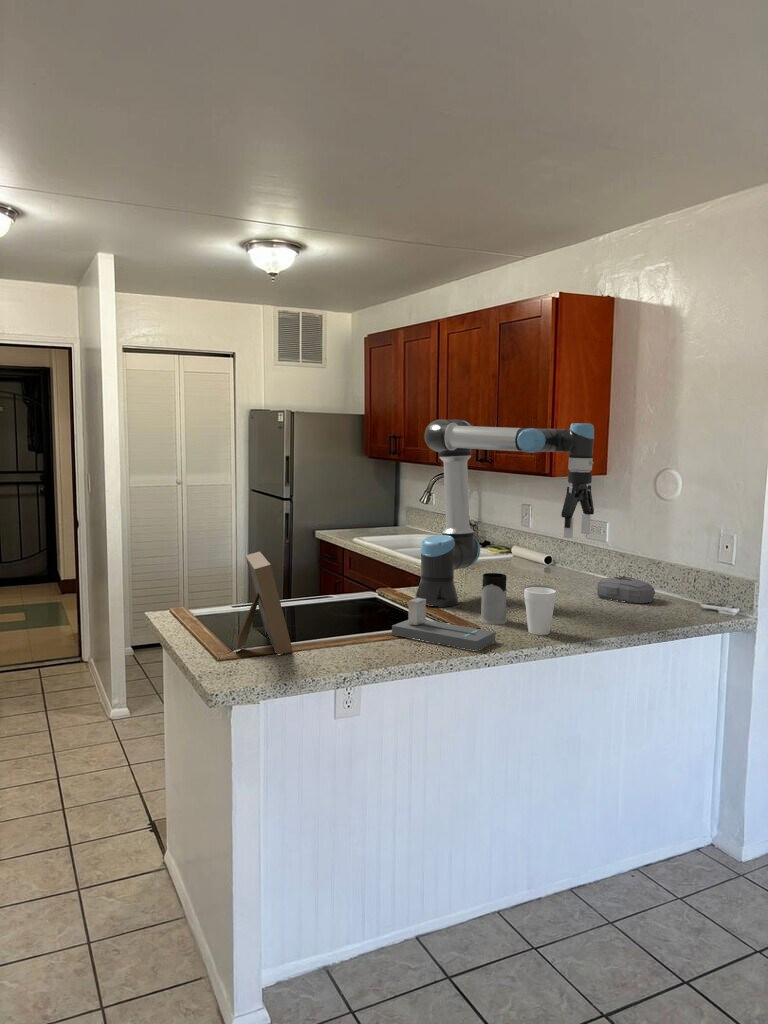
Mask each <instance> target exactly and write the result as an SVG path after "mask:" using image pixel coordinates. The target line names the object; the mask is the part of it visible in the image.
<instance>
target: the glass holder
mask: <svg viewBox="0 0 768 1024" xmlns="http://www.w3.org/2000/svg"><path fill="white" fill-rule="evenodd" d="M507 592H508V591H507V574H504V573H497V572H488V573H487V572H486V573H483V574H482V587H481V602H480V603H481V608H480V611H481V614H480V617H479V618H480V619H479V622H480V621H481V622H480V623H482V622H484V623H483V624H486V623H489V624H488V625H503V624H507V623H508V620H507ZM506 622H507V623H506Z"/></svg>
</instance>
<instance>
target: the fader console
mask: <svg viewBox="0 0 768 1024" xmlns="http://www.w3.org/2000/svg"><path fill="white" fill-rule="evenodd" d="M496 632H497V631H491V630H487V629H480V628H475V627H469V626H463V625H462V626H461V625H457V624H451V623H446V622H440V621H435V620H428V619H426V622H424V623H421V624H419V625H413V624H408V619H406V620H404V621H401V622H398V623H396V624H393V625H391V635H392V634H393V635H397V636H403V637H410V638H415V639H420V640H424V641H429V642H434V643H440V644H444V645H450V646H455V647H459V648H458V649H460V648H465V649H471V650H479V649H481V648H483V647H485V646H487V645H489V646H491V645H492V643H493V642H494V643H496ZM397 636H396V637H397ZM434 643H433V644H434ZM494 643H493V644H494ZM490 644H491V645H490ZM444 645H443V646H444ZM455 647H454V648H455ZM487 647H488V646H487ZM485 648H486V647H485ZM465 649H464V650H465ZM483 649H484V648H483ZM481 650H482V649H481ZM479 651H480V650H479Z"/></svg>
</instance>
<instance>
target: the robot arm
mask: <svg viewBox="0 0 768 1024" xmlns="http://www.w3.org/2000/svg"><path fill="white" fill-rule="evenodd" d="M594 441H595V427H594V425H593V423H581V422H579V423H573V422H572V423H571V424H570V427H569V428H567V429H566V428H565V429H564V428H533V427H528V428H526V427H523V428H522V427H505V426H504V427H503V426H502V427H501V426H500V427H499V426H497V427H496V426H474V425H471V423H470V422H468V421H466V420H461V419H444V418H443V419H442V418H441V419H435V420H434V421H431V422H430V423H429V424H428V425H427V426H426V428H425V431H424V442H425V444H426V445H427V447H428V448H429V449H430V450H432V451H434V452H437V453H438V458H439V459H440V460H441V461H442V462H443V478H444V479H443V480H444V481H443V482H444V504H445V505H444V506H445V507H444V508H445V509H444V513H445V529H443V530H442V532H441V533H442V534H437V535H430V536H426V537H425V538H424V539H422V541H421V547H420V582H419V584H418V588H417V591H416V593H415V595H414V596H415V598H422V599H426V604H429V605H433V606H438V607H437V608H449V607H454V606H457V605H458V604H459V596H458V595H459V594H458V592H457V589H456V585H455V582H454V579H455V575H454V573H455V570H460V569H466V568H469V567H470V566H472V565H474V564H475V563H476V562H477V561H478V560H479V558H480V554H481V545H480V542H479V541H478V539H477V537H475V530H473V529H472V527H470V508H469V507H470V505H469V504H470V501H469V498H470V497H469V475H468V474H469V473H468V471H469V470H468V461H469V459H471V457H472V449H473V450H487V451H489V450H491V451H507V452H523V453H524V452H525V453H529V454H530V453H531V454H535V453H550V452H552V453H568V466H567V468H568V470H569V471H568V472H567V482H568V484H572V485H571V486H567V487H566V494H565V498H564V502H563V505H562V510H561V518H564V523H563V524H564V526H563V539H574V537H573V535H574V517H573V516H574V513H575V511H576V508H577V506H578V503H580V504H579V505H580V507H581V509H582V513H581V526H580V527H581V531H580V534H582V535H583V534H584V535H590V534H591V519H592V518H591V515H594V513H595V506H594V502H593V495H592V485H590V484H591V483H592V481H593V479H592V478H593V477H592V476H593V472H591V471H593V465H594V461H593V459H594V458H593V457H594V456H593V455H594V443H595V442H594ZM415 598H414V599H415ZM448 606H449V607H448Z"/></svg>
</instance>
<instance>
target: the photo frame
mask: <svg viewBox="0 0 768 1024" xmlns="http://www.w3.org/2000/svg"><path fill="white" fill-rule="evenodd" d="M244 557H245V559H246V564H247V568H248V571H249V576H250V578H251V583H252V586H253V590H254V594H255V597H254V599H253V601H252V604H251V605H250V608H249V611H248V613H247V615H246V617H245V619H244V622H243V623H242V626H241V628H240V631H239V633H238V635H237V638H236V647H235V650H236V649H238V648H240V647H242V646H244V645H245V646H246V643H247V642H248V641H247V640H248V637H249V633H250V631H251V626H252V624H253V620H254V617H255V614H256V610H257V607H258V610H259V613H260V616H261V620H262V624H263V629H264V632H265V633H266V632H267V634H268V637H269V639H270V641H271V643H272V645H273V647H274V649H275V651H276V652H275V651H274V652H275V654H276V653H277V654H279V653H285V654H289V653H291V652H293V651H294V650H293V646H292V642H291V639H290V635H289V629H288V626H287V622H286V619H285V618H286V617H285V615H284V611H283V608H282V603H281V600H280V596H279V591H278V588H277V584H276V580H275V577H274V572H273V568H272V566H271V565H272V564H271V563H270V562H269V561H268V560H267V558H266V557H265V556H264V555H263V553H261V551H257V552H256V551H255V552H254V553H249V554H246V555H244ZM268 637H267V638H268ZM269 639H268V640H269ZM270 641H269V642H270ZM271 643H270V644H271ZM272 645H271V646H272ZM273 647H272V648H273ZM274 649H273V650H274ZM277 654H276V655H277Z"/></svg>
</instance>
